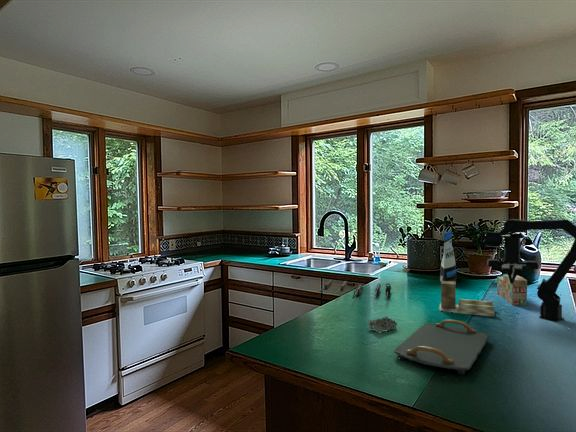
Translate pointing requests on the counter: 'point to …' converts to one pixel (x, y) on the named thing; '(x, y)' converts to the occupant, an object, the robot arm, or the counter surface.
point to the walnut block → (448, 294)
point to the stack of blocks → (513, 290)
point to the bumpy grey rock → (382, 324)
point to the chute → (472, 307)
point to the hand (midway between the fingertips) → (511, 283)
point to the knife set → (358, 290)
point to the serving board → (444, 345)
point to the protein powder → (448, 260)
